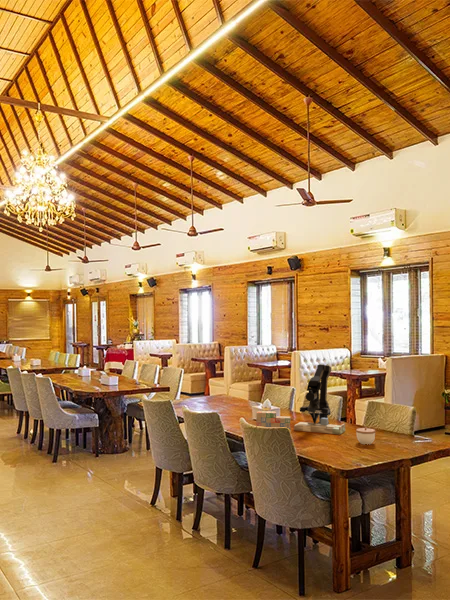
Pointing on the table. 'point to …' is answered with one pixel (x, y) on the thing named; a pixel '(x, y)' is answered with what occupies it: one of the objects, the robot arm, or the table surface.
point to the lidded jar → (365, 435)
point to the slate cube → (324, 421)
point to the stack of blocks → (271, 419)
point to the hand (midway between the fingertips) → (314, 423)
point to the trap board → (320, 428)
